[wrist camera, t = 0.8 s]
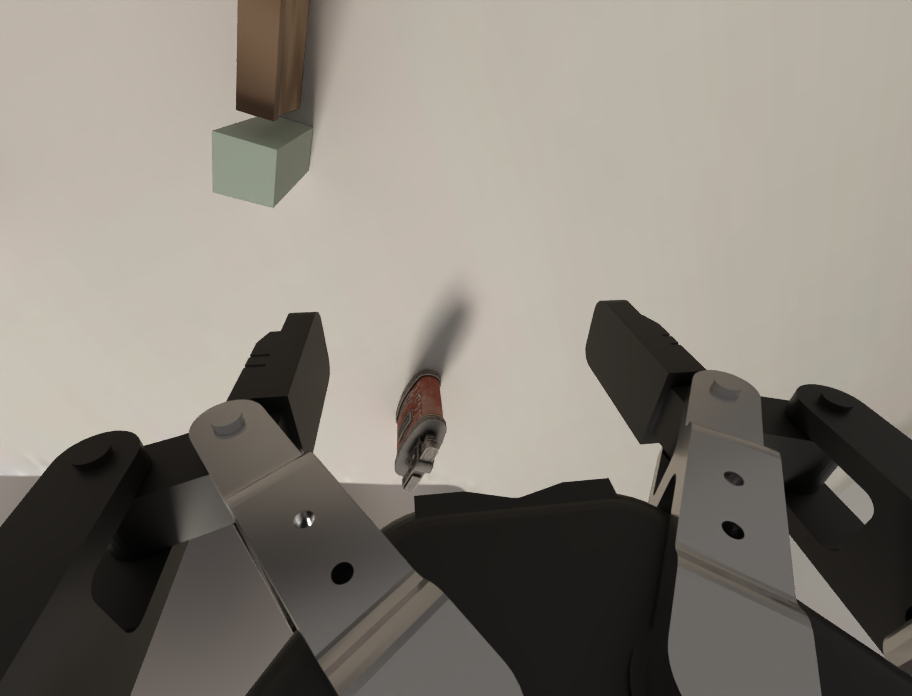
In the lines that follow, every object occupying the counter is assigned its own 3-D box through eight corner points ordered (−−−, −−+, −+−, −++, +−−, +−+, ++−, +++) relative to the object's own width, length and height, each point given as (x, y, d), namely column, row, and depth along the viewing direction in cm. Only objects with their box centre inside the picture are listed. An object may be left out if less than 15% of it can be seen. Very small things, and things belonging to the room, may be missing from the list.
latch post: (265, 158, 30) (212, 192, 21) (268, 113, 28) (211, 130, 20) (308, 170, 30) (273, 207, 22) (313, 127, 29) (277, 149, 21)
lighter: (417, 365, 42) (421, 437, 33) (447, 374, 43) (457, 446, 34) (389, 418, 45) (386, 495, 37) (417, 426, 46) (420, 502, 38)
